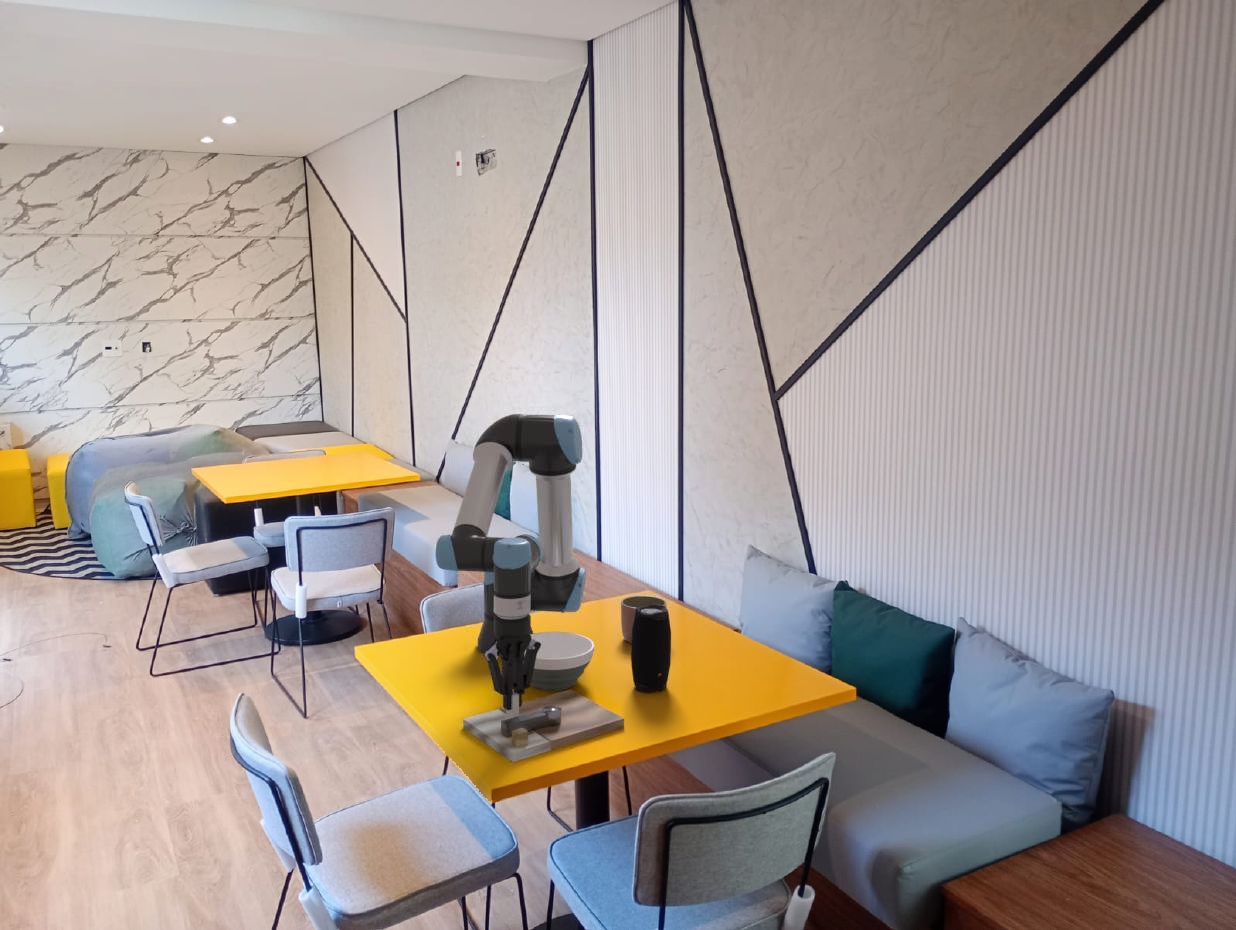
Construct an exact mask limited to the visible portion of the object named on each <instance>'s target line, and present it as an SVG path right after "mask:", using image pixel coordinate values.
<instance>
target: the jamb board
mask: <svg viewBox="0 0 1236 930" xmlns="http://www.w3.org/2000/svg"><path fill="white" fill-rule="evenodd" d="M549 705H555V706H559V707H561V723H560V724H558V725H553V726H550V725H548V726H544V727H540V728H537V729H533V730H529V731H527V730H526V729H524V728H520V729H516V730H513V731H512V735H511V736H505V735H504V734H503V733H501V721H502V720H506V709H504V707H502V708H500V707H499V708H498V709H494V710H490V711H487V712H483V713H479V714H476V715H472V716H469V717H465V718H462V728H463V729H464V730H466V731H467V732H468V733H470V734H472V735H473V736H475V737H476V738H477V739H479V740H480V741H482V742H483V743H484V744H486V745H487V746H488V747H490V748H492V749H493V750H494V751H496V752H498V753H499V754H500V755H502V756H503V757H504V758H506V759H507V760H509V761H510V762H511V763H515V762H519V761H521V760H524V759H528V758H531V757H534V756H537V755H539V754H540V755H541V754H544V753H546V752H550V751H553V750H556V749H560V748H563V747H566V746H570V745H572V744H576V743H578V742H582V741H586V740H588V739H591V738H594V737H595V738H596V737H598V736H600V735H604V734H607V733H610V732H613V731H617V730H620V729H623V728H625V717H622V716H620V715H619V714H617V713H615V712H613V711H611V710H609V709H608V708H606V707H604V706H602V705H600V704H598V703H596V702H595V701H592V700H590V699H589V698H587V697H585V696H583V695H581V694H580V693H578V692H576V691H574V690H573V689H570V688H569V689H566V690H564V691H563V690H562V691H560V692H557V693H552V694H548V695H546V696H541V697H537V698H535V699H531V700H527V701H522V705H521V707H519V716H522V715H526V714H529V713H533V712H537V711H541V710H542V709H543V707H545V706H549Z"/></svg>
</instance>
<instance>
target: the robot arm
mask: <svg viewBox="0 0 1236 930" xmlns="http://www.w3.org/2000/svg"><path fill="white" fill-rule="evenodd" d="M582 459H583V440H582V432H581V428H580V425H579V422H578V421H577V419H576V418H574V417H573V416H571V415H560V414H521V413H513V414H508V415H505V416H504V417H503V416H502V417H501V418H499V419H498V420H496V421H494V422H493V423H492V424H490V425H489V426H488V427H487V428H486V429H485V430H484V432H482V434H481V435H480V437H479V438H478V440H477V442H476V444H475V446H474V449H473V452H472V460H473V462H474V463H473V466H472V470H471V472H470V475H469V479H468V482H467V485H466V488H465V491H464V495H463V496H462V497H463V498H462V501H461V504H460V508H459V511H458V514H457V517H456V521H455V523H454V526H453V529H452V534H444V535H440V536H439V538H438V539H437V540H436V543H435V544H436V546H435V562H436V565H437V567H438V568H439V569H441V570H445V571H453V572H482V573H484V574H483V582H482V584H483V622H482V625H481V628H480V631H479V635H478V637H477V650H478V651H479V652H480V653H482V656H483V657H484V658H485V659H486V661H487V665H488V669H489V674H490V678H491V682H492V686H493V690H494V692H496V693H497V694H499V695H501V696H502V708H504V709H506V719H510V718H514V717H518V716H519V707H521V705H522V703H523V695H525V692H526V690H525V689H529V688H530V687H531V686H532V685H531V680H532V675H533V670H534V666H535V661H536V656H537V653H538V651H539V649H540V647H541V643H540V642H538V641H536V640H534V639H531V635H530V634H534V632H533V628H532V626H531V625H532V619H531V618H532V617H531V614H530V613H531V611H532V612H548V613H549V612H550V613H551V612H552V613H561V614H564V613H576V612H578V611H579V610H580V609H581V606H582V601H583V597H584V592H585V585H586V578H587V577H586V576H587V572H586V571H587V570H586V568H583V567H580V560H579V559H578V558H577V557H576V556H575V555H574V544H573V543H574V541H573V540H574V539H573V514H572V513H573V510H572V507H573V506H572V482H571V481H572V480H571V474H573V473H574V472H575V471H576V470H577V465H578V464H580V463H581V462H582ZM514 462H519V463H520V462H521V463H528V464H529V466H528V467H529V472H530V473H531V474H533V475H534V476H535V483H536V486H535V487H536V502H537V503H536V504H537V524H538V527H537V528H538V538H536V537H535V536H533V535H531V534H526V533H525V534H523V533H522V534H519V535H516V536H515V537H497V536H496V537H495V536H494V537H492V536H488V533H489V531H490V528H491V527H490V526H491V523H492V519H493V516H494V513H495V510H496V506H497V502H498V498H499V495H500V491H501V488H502V484H503V481H504V477H505V474H506V472H507V471H508V470H509V469H510V468H511V466H513V465H512V464H513V463H514ZM525 651H526V653H525ZM499 657H500V662H501V667H500V663H499V660H498V658H499ZM523 661H524V662H523Z"/></svg>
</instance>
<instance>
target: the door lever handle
mask: <svg viewBox="0 0 1236 930" xmlns="http://www.w3.org/2000/svg"><path fill="white" fill-rule="evenodd" d="M560 723H561V707H559V706H555V705H549V706H545V707H543V709H542V710H541V711H537V712H533V713H529V714H526V715H522V716H518V717H514V718H510V719H506V720H502V721H501V733H503V734H504V735H505V736H511V735H512V731H513V730H516V729H520V728H524V729H526V730H527V731H529V730H533V729H537V728H540V727H544V726H548V725H550V726H553V725H558V724H560Z"/></svg>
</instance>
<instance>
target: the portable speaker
mask: <svg viewBox="0 0 1236 930" xmlns="http://www.w3.org/2000/svg"><path fill="white" fill-rule="evenodd" d="M630 645H631V646H630V647H631V651H630V661H631V663H630V665H631V672H632V680H633V684H634V687H635V689H636V691H638V692H640V693H646V694H650V693H651V692H652V691H655V690H661V691H665V690H666V689H667V686H668V685H667V684H668V680H669V676H670V675H669V674H670V668H671V659H672V655H671V654H672V652H671V651H672V628H671V623H670V614H669V610H668V608H667V607H666V608H665V606H663V605H659V604H650V605H647V606H642V607H636V611H635V618H634V622H633V627H632V643H630Z"/></svg>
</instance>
